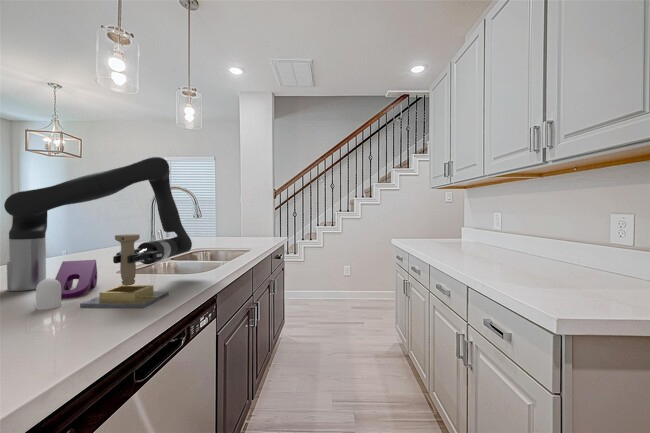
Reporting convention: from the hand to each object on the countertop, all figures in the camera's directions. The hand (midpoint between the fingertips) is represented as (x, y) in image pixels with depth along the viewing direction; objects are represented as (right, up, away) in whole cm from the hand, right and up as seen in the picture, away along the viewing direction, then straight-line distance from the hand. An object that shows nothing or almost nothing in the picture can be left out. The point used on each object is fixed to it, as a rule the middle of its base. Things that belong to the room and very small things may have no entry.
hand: (121, 259), depth 93 cm
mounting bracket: (-24, -13, +13) cm, 30 cm away
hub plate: (0, -13, +3) cm, 13 cm away
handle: (0, -8, +3) cm, 9 cm away
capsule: (-18, -13, -3) cm, 23 cm away
